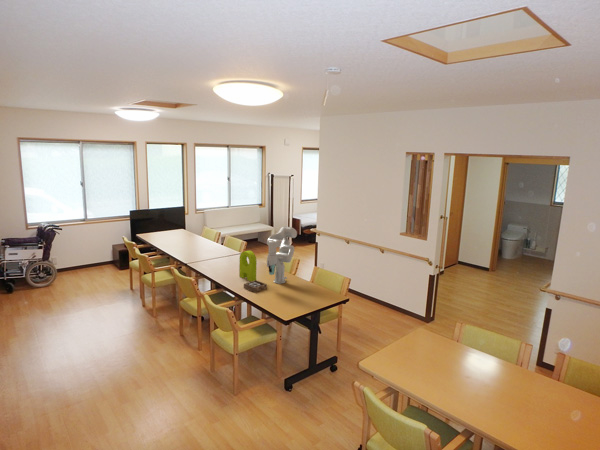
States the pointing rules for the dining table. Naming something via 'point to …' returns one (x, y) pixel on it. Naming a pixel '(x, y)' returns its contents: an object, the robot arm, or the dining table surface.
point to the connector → (272, 270)
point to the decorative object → (247, 265)
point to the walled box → (255, 286)
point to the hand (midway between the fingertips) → (271, 271)
